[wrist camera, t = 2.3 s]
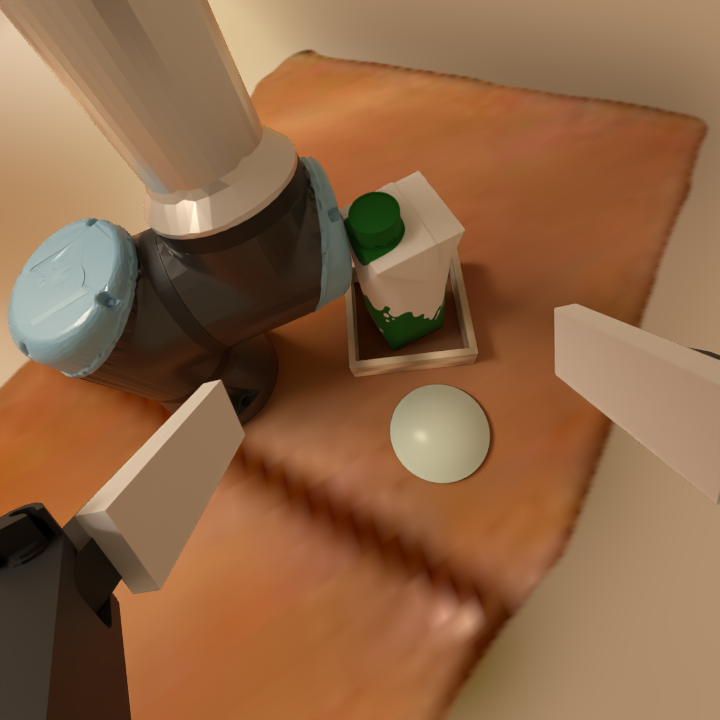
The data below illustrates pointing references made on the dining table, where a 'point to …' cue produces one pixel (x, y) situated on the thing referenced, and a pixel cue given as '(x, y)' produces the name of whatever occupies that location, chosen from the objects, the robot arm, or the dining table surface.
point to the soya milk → (402, 256)
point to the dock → (415, 360)
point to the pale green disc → (440, 433)
